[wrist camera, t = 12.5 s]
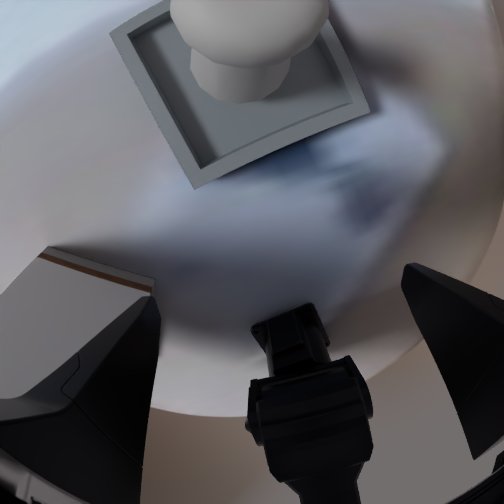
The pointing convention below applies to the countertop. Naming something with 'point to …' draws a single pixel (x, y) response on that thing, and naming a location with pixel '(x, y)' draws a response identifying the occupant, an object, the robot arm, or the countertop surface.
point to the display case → (58, 314)
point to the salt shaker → (246, 42)
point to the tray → (231, 114)
